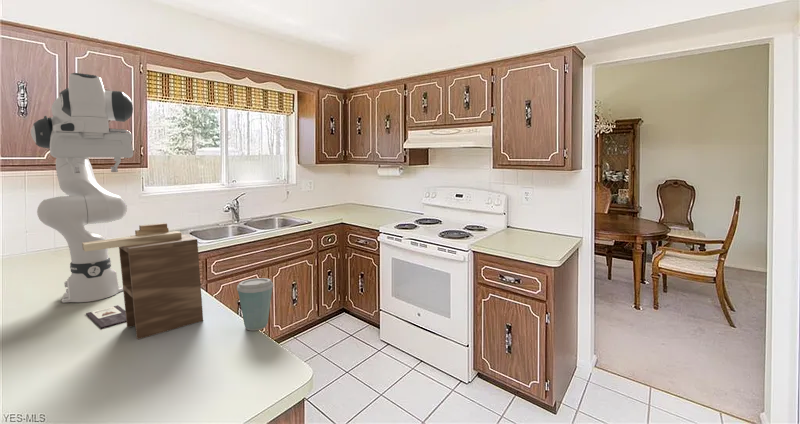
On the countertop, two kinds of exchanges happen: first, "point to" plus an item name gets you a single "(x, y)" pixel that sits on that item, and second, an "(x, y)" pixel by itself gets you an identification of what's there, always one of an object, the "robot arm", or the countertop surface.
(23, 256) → the countertop surface
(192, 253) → the rack
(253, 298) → the disposable coffee cup
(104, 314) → the chocolate bar
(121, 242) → the birch strip
